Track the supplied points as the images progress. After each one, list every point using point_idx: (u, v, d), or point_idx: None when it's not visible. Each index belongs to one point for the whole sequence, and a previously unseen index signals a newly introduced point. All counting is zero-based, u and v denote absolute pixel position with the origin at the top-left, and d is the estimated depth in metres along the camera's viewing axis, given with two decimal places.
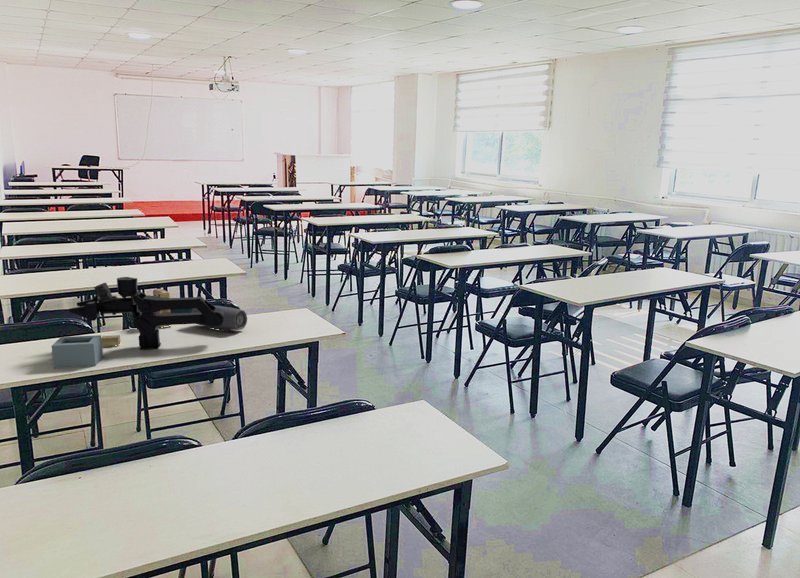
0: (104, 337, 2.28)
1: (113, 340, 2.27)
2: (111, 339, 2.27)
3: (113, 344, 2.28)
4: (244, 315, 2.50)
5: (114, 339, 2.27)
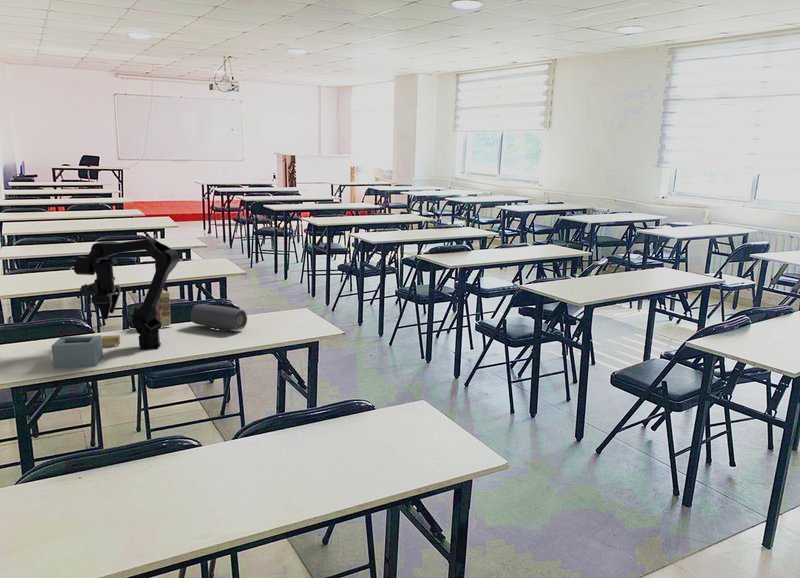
0: (104, 337, 2.28)
1: (113, 339, 2.27)
2: (111, 339, 2.27)
3: (113, 344, 2.28)
4: (244, 315, 2.50)
5: (114, 339, 2.28)
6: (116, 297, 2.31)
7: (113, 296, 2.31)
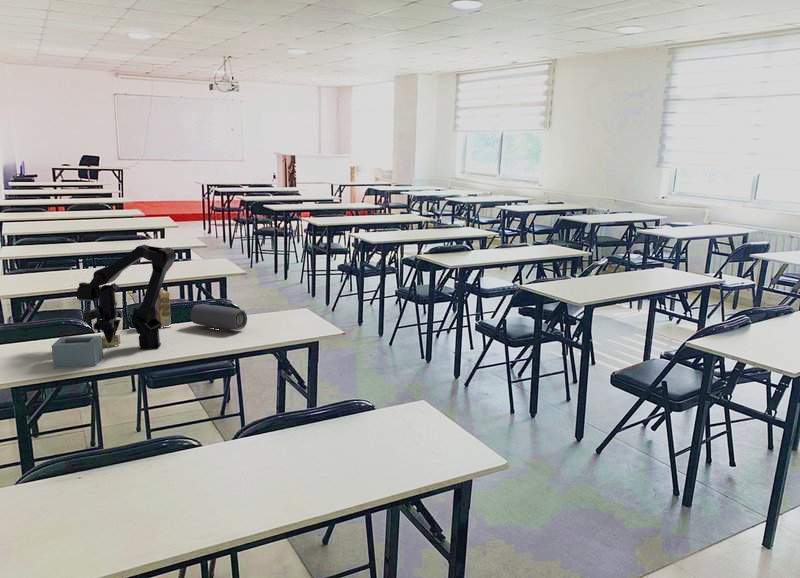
0: (104, 337, 2.28)
1: (113, 339, 2.27)
2: None
3: (113, 344, 2.28)
4: (244, 315, 2.50)
5: (114, 339, 2.27)
6: (116, 324, 2.30)
7: (113, 323, 2.30)
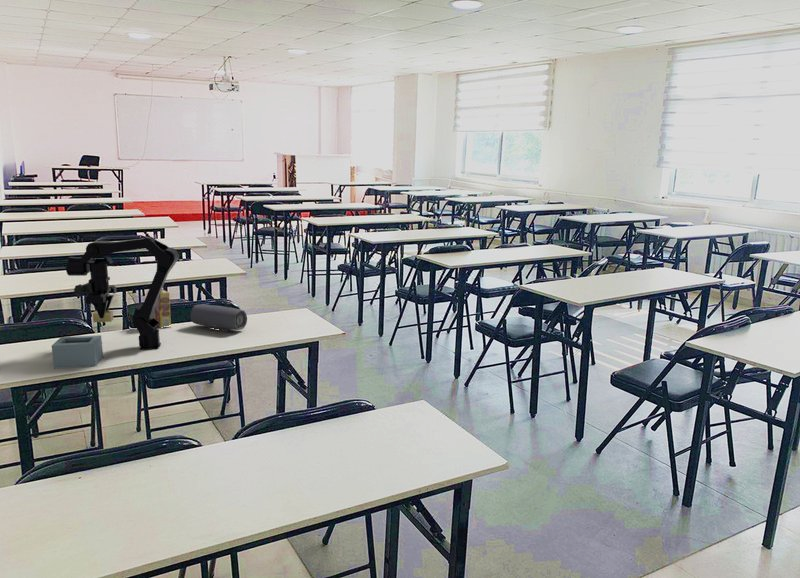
0: (96, 312, 2.22)
1: (105, 314, 2.22)
2: None
3: (105, 319, 2.22)
4: (244, 315, 2.50)
5: (106, 314, 2.22)
6: (109, 299, 2.25)
7: (106, 298, 2.25)
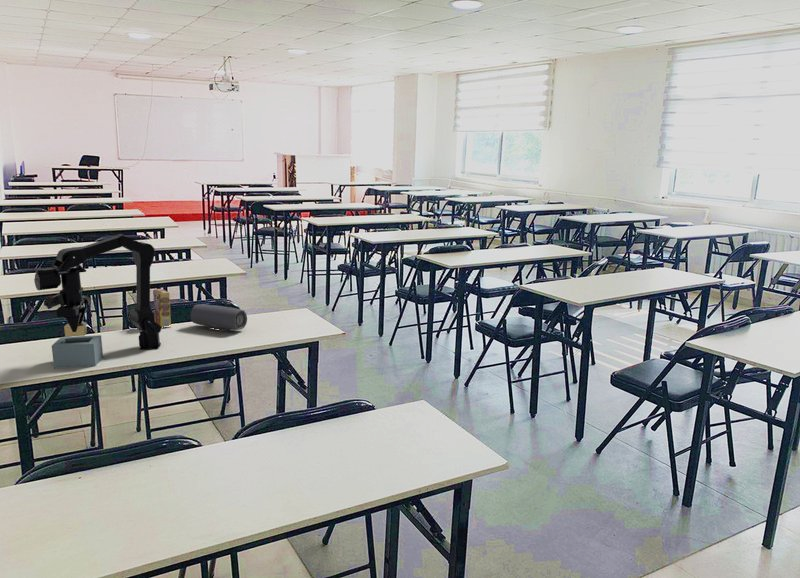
0: (68, 325, 2.06)
1: (78, 328, 2.06)
2: None
3: (78, 333, 2.06)
4: (244, 315, 2.50)
5: (79, 327, 2.06)
6: (83, 311, 2.09)
7: (79, 310, 2.09)
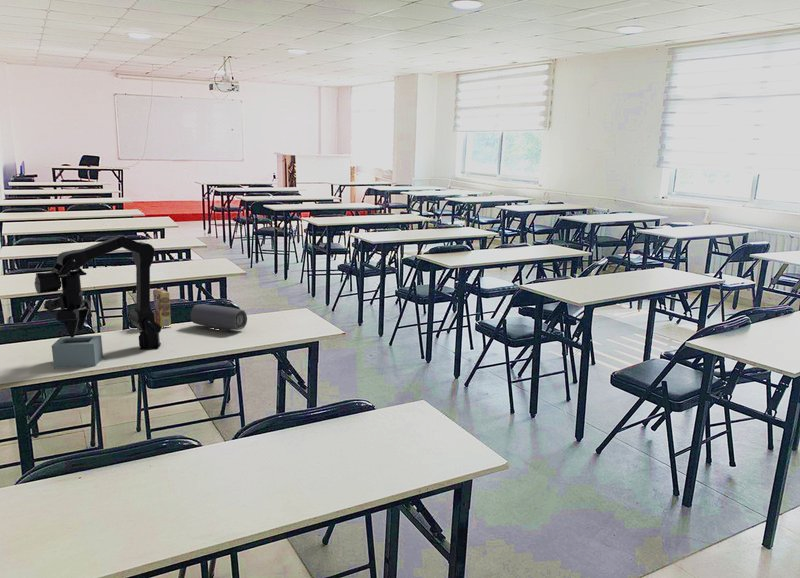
0: None
1: None
2: None
3: None
4: (244, 315, 2.50)
5: None
6: (85, 312, 2.12)
7: (82, 311, 2.11)
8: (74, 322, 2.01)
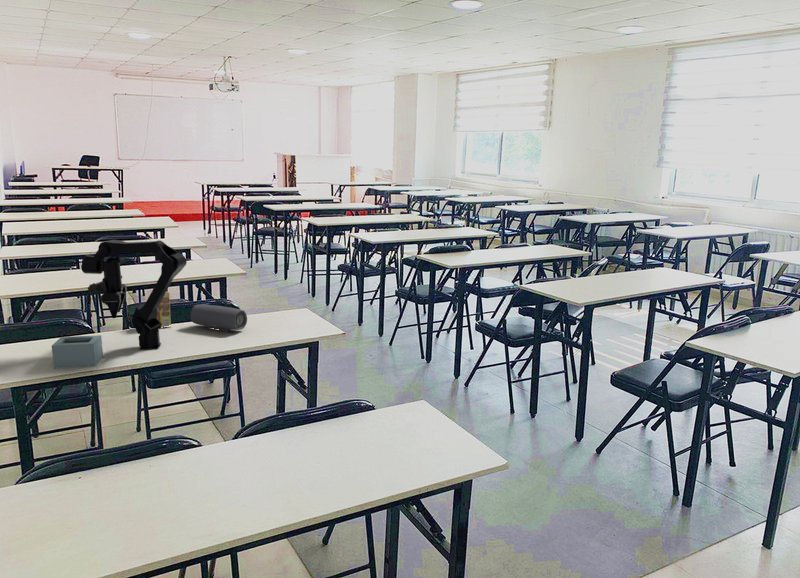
0: None
1: None
2: None
3: None
4: (244, 315, 2.50)
5: None
6: (123, 296, 2.31)
7: (120, 295, 2.30)
8: (117, 304, 2.20)
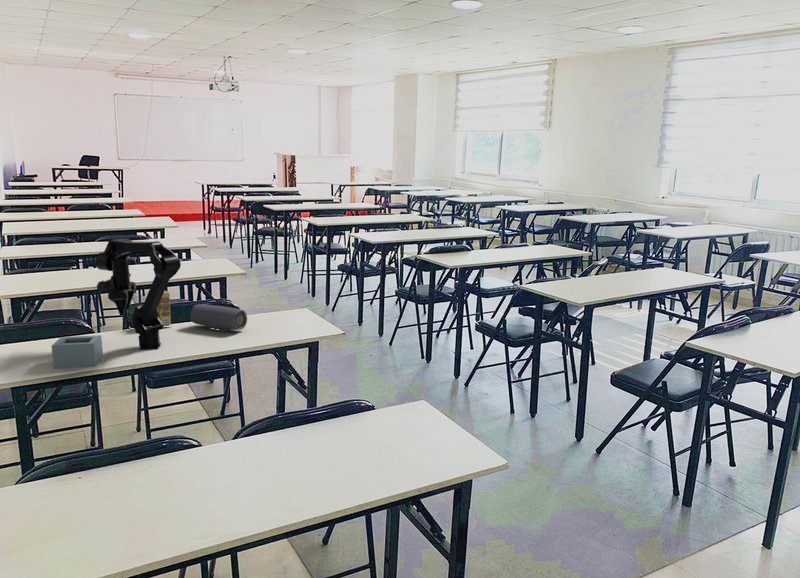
0: None
1: None
2: None
3: None
4: (244, 315, 2.50)
5: None
6: (131, 293, 2.35)
7: (128, 292, 2.34)
8: (124, 301, 2.24)
